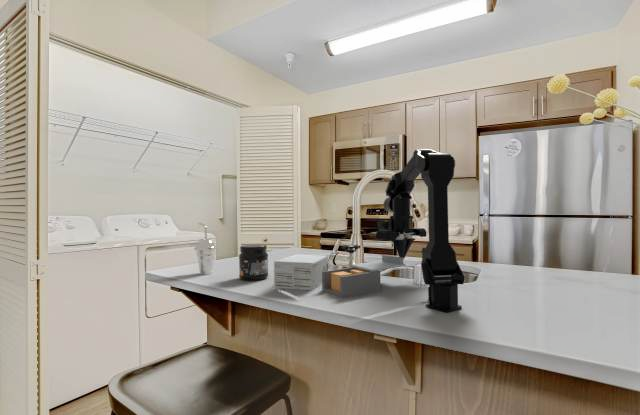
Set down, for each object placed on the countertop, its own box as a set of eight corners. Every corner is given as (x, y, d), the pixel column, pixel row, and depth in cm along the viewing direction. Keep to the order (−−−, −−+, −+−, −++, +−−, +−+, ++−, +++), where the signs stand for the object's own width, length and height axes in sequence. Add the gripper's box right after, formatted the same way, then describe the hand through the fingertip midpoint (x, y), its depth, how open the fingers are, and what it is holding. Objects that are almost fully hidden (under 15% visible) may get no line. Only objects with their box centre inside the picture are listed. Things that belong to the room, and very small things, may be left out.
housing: (380, 292, 101) (380, 271, 101) (342, 300, 93) (342, 277, 93) (359, 286, 109) (358, 266, 109) (322, 292, 101) (322, 271, 101)
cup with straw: (194, 276, 127) (193, 223, 127) (194, 272, 136) (194, 222, 136) (217, 274, 130) (216, 223, 130) (216, 270, 139) (216, 222, 139)
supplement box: (313, 293, 101) (312, 262, 101) (273, 290, 105) (273, 261, 105) (328, 281, 117) (328, 254, 117) (294, 279, 121) (293, 253, 121)
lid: (405, 266, 107) (405, 257, 107) (371, 271, 99) (371, 262, 99) (383, 261, 115) (383, 254, 115) (350, 266, 107) (350, 258, 107)
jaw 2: (370, 288, 102) (370, 270, 102) (359, 290, 100) (359, 272, 100) (361, 286, 106) (361, 268, 106) (350, 288, 104) (350, 270, 104)
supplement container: (239, 276, 127) (239, 244, 127) (268, 274, 129) (267, 243, 129) (238, 282, 117) (237, 247, 117) (268, 280, 119) (268, 246, 119)
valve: (360, 277, 123) (359, 244, 123) (360, 281, 117) (360, 246, 116) (342, 276, 124) (341, 244, 124) (341, 281, 117) (341, 246, 117)
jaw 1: (352, 292, 98) (352, 273, 98) (340, 294, 96) (340, 275, 96) (343, 289, 102) (343, 271, 102) (331, 291, 100) (331, 273, 100)
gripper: (402, 212, 125) (403, 254, 125) (364, 213, 115) (365, 258, 115) (427, 212, 115) (427, 257, 116) (388, 213, 105) (388, 263, 105)
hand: (402, 259), depth 113 cm, fingers closed
